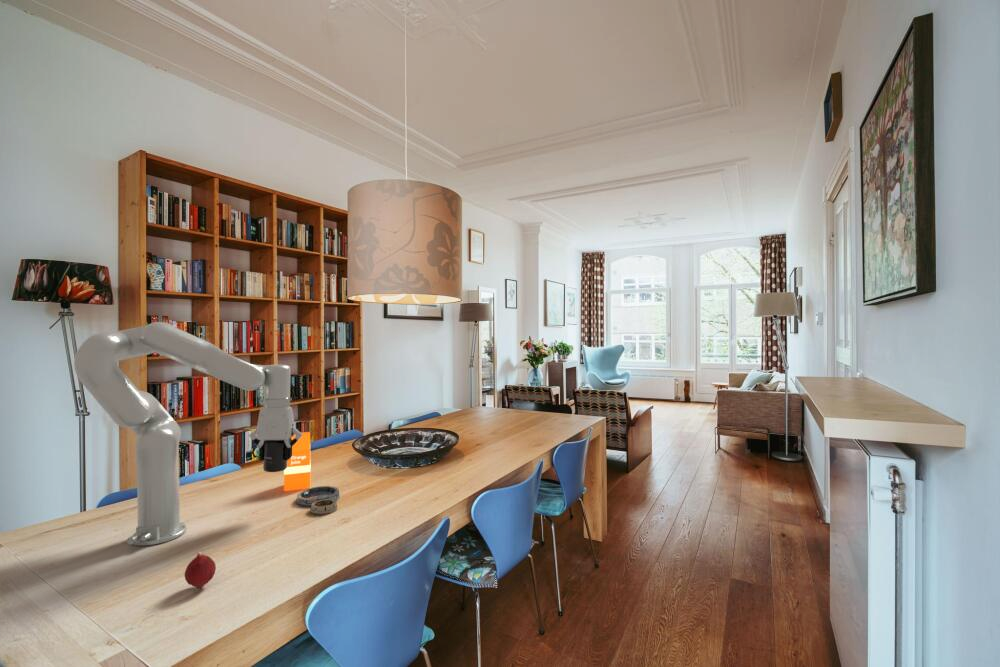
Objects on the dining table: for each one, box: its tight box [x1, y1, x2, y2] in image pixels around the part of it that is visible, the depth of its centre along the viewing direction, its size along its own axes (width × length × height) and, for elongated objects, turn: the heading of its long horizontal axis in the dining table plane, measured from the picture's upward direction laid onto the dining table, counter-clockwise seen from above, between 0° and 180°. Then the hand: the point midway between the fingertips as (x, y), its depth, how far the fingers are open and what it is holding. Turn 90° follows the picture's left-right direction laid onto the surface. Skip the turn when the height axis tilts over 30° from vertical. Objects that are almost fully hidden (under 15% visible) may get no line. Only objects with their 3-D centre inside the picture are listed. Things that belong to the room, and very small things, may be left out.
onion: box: [184, 551, 217, 589], centre depth 102 cm, size 6×6×8 cm
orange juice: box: [283, 431, 312, 492], centre depth 168 cm, size 8×9×20 cm
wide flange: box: [296, 485, 340, 508], centre depth 155 cm, size 14×14×2 cm
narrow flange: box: [310, 499, 338, 516], centre depth 146 cm, size 8×8×2 cm
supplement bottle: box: [262, 440, 287, 473], centre depth 143 cm, size 7×7×12 cm
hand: (275, 459), depth 143 cm, fingers closed on supplement bottle, 6 cm apart
